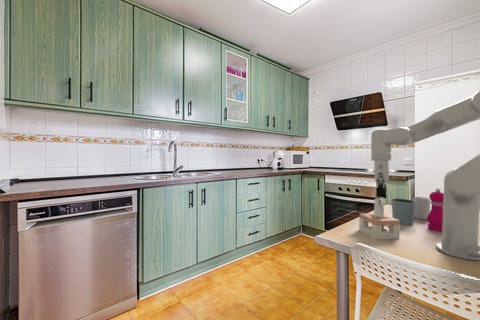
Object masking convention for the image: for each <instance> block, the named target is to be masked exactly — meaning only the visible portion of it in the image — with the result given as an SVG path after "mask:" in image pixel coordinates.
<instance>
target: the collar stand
mask: <svg viewBox="0 0 480 320" xmlns="http://www.w3.org/2000/svg"><path fill="white" fill-rule="evenodd" d="M358 220H359V227H358V230H359V231H360V232H361V233H364V234H366V235H367V236H369V237H370V238H373V239H374V240H392V239H393V240H394V239H396V240H398V239H400V231H401V230H400V229H401V228H400V227H401V224H400V220H398V219H395V218H393V216H390V215H388V214H385V213H384V217H383V219H377V218H374V212H373V213H372V212H370V213H359V219H358ZM369 223H370V224H369ZM382 225H383V231H382ZM387 226H388V227H387Z"/></svg>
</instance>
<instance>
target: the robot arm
mask: <svg viewBox="0 0 480 320" xmlns="http://www.w3.org/2000/svg"><path fill="white" fill-rule="evenodd" d="M478 120H480V89H479V90H478V91H477V92H475V93H474V95H472V96H469V97H467V98H465V99H462V100H459V101H458V102H455V103H453V104H450V105H448V106H445V107H443V108H440V109H438V110H437V111H435V112H433V113H432V114H431V115H429V116H428V117H426V118H425V119H423V120H421V121H419V122H417V123H415V124H411V125H409V126H407V127H404V126H403V127H395V128H389V129H387V128H386V129H375V130H373V131H371V135H370V136H371V138H370V139H371V141H370V145H371V146H370V149H371V154H370V155H371V156H370V157H371V159H370V160H371V162H372V161H373V162H374V181H375V183H376V189H375V190H376V191H375V192H376V198H382V199H384V198H386V187H387V185H386V184H388V183H390V182H389V179H390V177H389V173H390V167H389V161H390V162H391V161H392V146H393V145H395V146H403V147H405V146H410V145H413V144H414V143H415V144H416V143H417V142H420V141H423V140H426V139H429V138H431V137H434V136H436V135H439V134H443V133H446V132H448V131H451V130H454V129H456V128H459V127H462V126H465V125H468V124H470V123H473V122H476V121H478ZM443 193H444V201H443V221H442V232H441V242H437V243H436V244H435V248H436V249H437V250H438V251H439V252H442V253H443V254H446V255H449V256H452V257H453V258H454V257H455V258H458V259H464V260H469V261H480V244H479V232H480V230H479V229H480V151H479V152H478V153H477V154H476V156H474V157H473V158H471V159H469V160H468V161H466V162H465V163H463V164H462V165H460V166H459V167H458V168H454V169H453V168H452V169H451V170H449V171H448V172H447V173H446V174H445V176H444V179H443Z"/></svg>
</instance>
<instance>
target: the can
mask: <svg viewBox="0 0 480 320" xmlns="http://www.w3.org/2000/svg"><path fill="white" fill-rule="evenodd" d="M412 201H415V207H414V214H413V215H414V217H413V219H417V220H421V221H427V217H428V215H429V213H430V211H431V200H430V197H427V196H426V197H425V196H414V198H413V199H412Z"/></svg>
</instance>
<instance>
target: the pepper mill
mask: <svg viewBox="0 0 480 320" xmlns="http://www.w3.org/2000/svg"><path fill="white" fill-rule="evenodd" d="M428 198H429V200H430V205H431V207H430V213H429V215H428V217H427V220H426V222H427V223H428V224H427V229H428V230H430V231H434V232H440V233H442V221H443V201H444V192H441V189H440V188H436V189H435V191H432V192H431V193H430V194H429V197H428Z"/></svg>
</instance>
